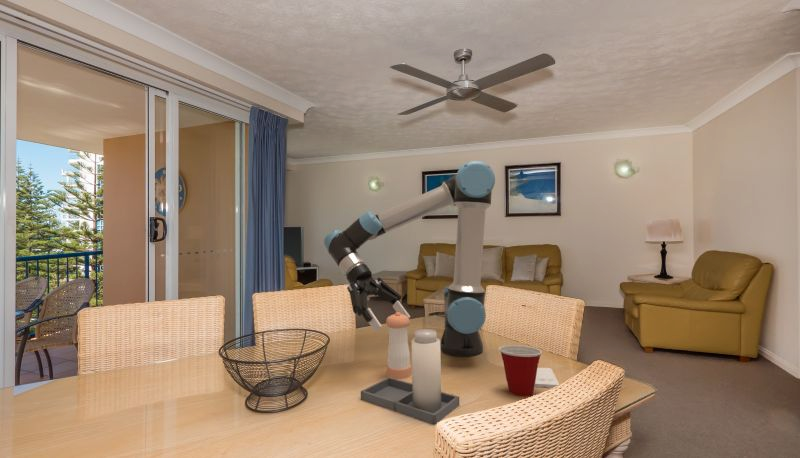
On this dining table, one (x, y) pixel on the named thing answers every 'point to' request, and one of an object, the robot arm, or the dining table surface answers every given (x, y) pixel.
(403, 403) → the shaker caddy
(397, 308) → the robot arm
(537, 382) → the external hard drive
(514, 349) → the plastic cup
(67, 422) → the dining table surface
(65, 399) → the dining table surface
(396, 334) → the pepper shaker
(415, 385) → the salt shaker
